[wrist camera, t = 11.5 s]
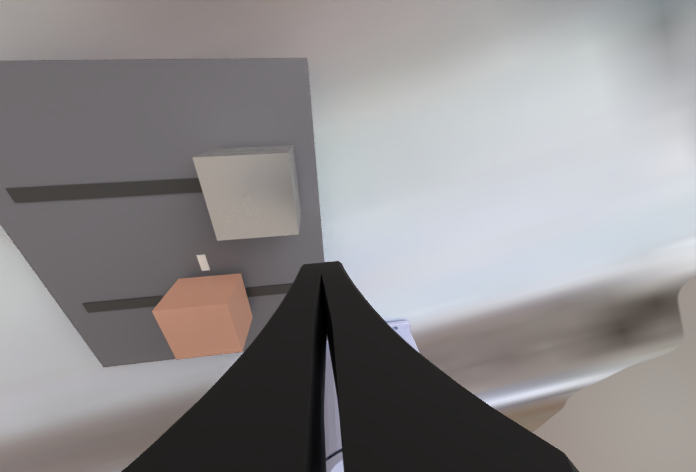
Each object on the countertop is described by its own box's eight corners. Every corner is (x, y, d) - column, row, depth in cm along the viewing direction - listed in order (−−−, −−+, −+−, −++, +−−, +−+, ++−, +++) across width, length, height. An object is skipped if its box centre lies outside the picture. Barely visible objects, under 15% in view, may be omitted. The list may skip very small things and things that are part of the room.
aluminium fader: (293, 145, 14) (287, 153, 11) (301, 213, 15) (298, 234, 13) (217, 148, 13) (192, 157, 10) (234, 217, 15) (217, 240, 12)
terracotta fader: (240, 273, 17) (226, 303, 14) (252, 317, 18) (242, 351, 16) (178, 278, 16) (151, 311, 14) (196, 323, 18) (176, 359, 15)
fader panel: (307, 63, 14) (306, 57, 12) (329, 327, 23) (330, 341, 21) (-69, 67, 12) (-121, 61, 10) (117, 351, 21) (102, 368, 19)
